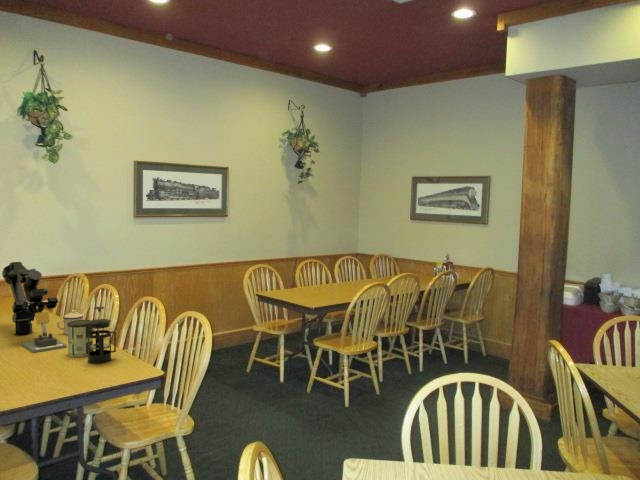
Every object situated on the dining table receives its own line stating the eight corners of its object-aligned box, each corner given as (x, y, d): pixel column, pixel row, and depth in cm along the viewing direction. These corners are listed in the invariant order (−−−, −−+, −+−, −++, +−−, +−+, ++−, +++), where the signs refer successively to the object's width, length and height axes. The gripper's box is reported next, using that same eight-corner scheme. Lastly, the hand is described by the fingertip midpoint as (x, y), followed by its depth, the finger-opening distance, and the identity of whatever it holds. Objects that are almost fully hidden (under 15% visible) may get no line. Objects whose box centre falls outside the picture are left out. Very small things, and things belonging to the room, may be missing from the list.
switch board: (22, 345, 246) (21, 332, 245) (54, 340, 256) (54, 328, 255) (33, 353, 234) (33, 339, 234) (66, 347, 244) (66, 334, 244)
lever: (38, 337, 242) (35, 314, 245) (50, 335, 246) (46, 312, 249) (39, 336, 241) (36, 312, 244) (51, 334, 245) (47, 311, 247)
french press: (87, 365, 220) (87, 310, 218) (84, 359, 227) (83, 306, 226) (117, 361, 226) (117, 307, 224) (113, 355, 234) (113, 303, 232)
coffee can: (87, 349, 243) (86, 318, 242) (97, 353, 236) (96, 322, 235) (63, 353, 235) (63, 321, 234) (73, 358, 228) (73, 326, 227)
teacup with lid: (82, 330, 276) (81, 308, 275) (84, 334, 268) (84, 311, 267) (56, 332, 270) (56, 310, 269) (58, 337, 262) (57, 313, 261)
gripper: (13, 284, 244) (21, 311, 237) (56, 280, 257) (65, 306, 250) (8, 298, 250) (16, 326, 243) (51, 294, 263) (59, 320, 256)
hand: (39, 319), depth 248 cm, fingers closed
